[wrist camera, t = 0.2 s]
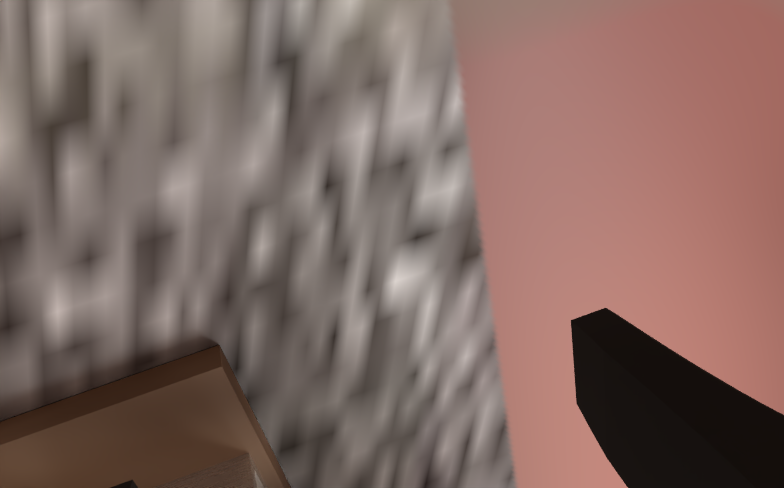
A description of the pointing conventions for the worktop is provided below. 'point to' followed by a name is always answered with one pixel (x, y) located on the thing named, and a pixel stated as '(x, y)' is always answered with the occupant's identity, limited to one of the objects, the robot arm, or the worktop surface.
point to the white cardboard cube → (223, 476)
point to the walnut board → (139, 431)
